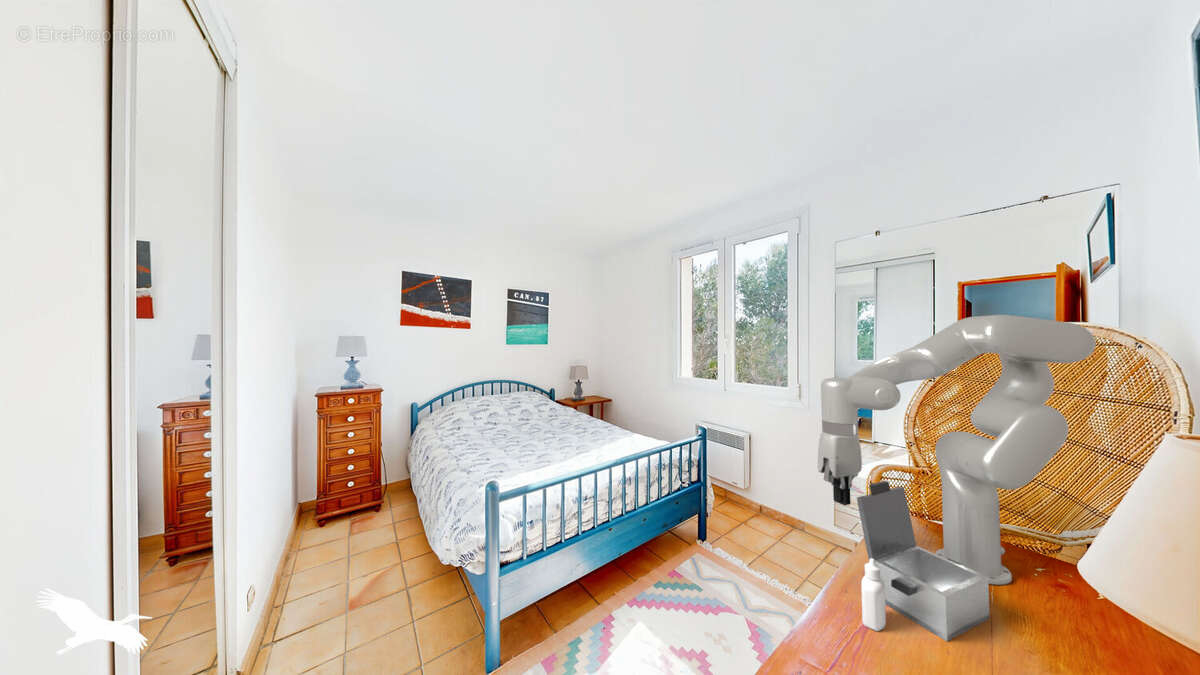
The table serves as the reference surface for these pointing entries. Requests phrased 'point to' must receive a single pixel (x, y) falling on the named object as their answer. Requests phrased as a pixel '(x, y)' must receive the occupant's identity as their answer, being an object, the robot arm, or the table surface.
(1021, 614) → the table surface
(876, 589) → the eye dropper bottle
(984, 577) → the grey rectangular box
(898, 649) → the table surface
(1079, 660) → the table surface
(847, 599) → the table surface
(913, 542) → the lid
